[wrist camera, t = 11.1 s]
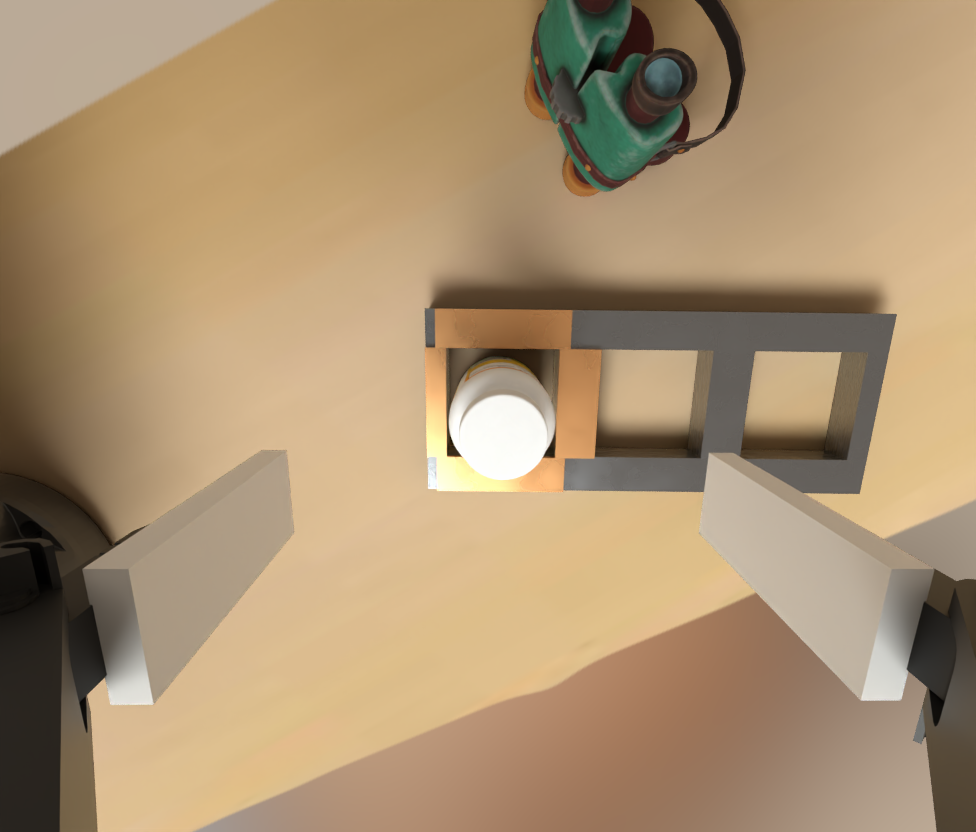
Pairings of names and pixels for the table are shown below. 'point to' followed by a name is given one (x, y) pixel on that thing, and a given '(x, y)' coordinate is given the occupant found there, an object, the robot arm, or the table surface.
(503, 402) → the supplement bottle
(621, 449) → the hole rail
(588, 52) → the binoculars
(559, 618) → the table surface
